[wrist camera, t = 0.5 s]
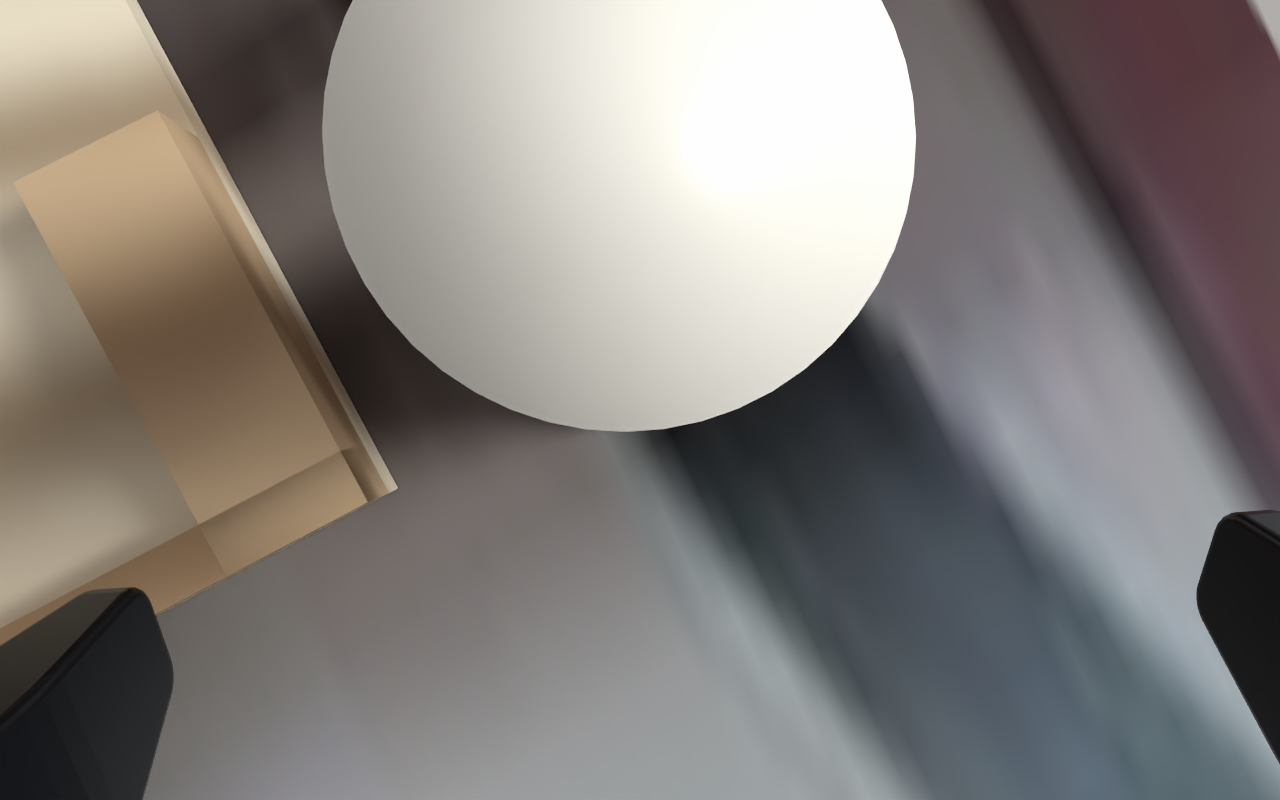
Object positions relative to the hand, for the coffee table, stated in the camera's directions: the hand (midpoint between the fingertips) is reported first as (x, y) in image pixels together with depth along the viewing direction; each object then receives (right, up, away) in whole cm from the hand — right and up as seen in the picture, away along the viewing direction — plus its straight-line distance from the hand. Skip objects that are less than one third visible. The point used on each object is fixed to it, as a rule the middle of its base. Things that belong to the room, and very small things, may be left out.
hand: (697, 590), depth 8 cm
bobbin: (-1, +4, +15) cm, 15 cm away
